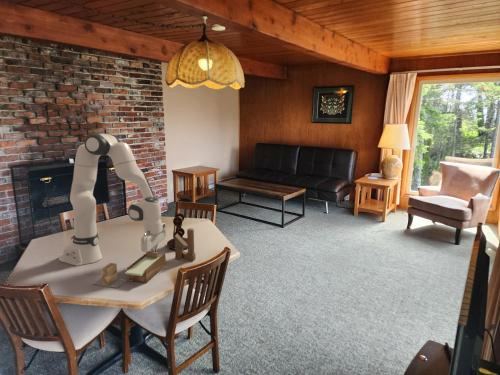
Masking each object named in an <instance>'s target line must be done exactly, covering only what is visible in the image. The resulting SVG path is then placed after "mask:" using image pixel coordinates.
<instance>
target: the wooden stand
mask: <svg viewBox="0 0 500 375" xmlns="http://www.w3.org/2000/svg"><path fill="white" fill-rule="evenodd" d="M186 232H187V233H186V236H187V237H186V238H187V242H188V244H187V243H186V242H185V241H184V240H183V239H182V238H181V237H180V236H179V235H178V234H176V235H175V249H174V251H175V252H174V253H175V254H174V255H175V256H174V258H175V260H177V261H178V260H180V261H181V260H183V261H188V262H189V261H191V262H194V261H195V260H196V252H195V229H194V228H188V229H187V231H186ZM185 248H186V249H185ZM184 249H185V250H187V251H184Z"/></svg>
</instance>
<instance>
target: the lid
mask: <svg viewBox="0 0 500 375" xmlns="http://www.w3.org/2000/svg"><path fill="white" fill-rule="evenodd" d="M145 254H146V256H145V257H144V258H143V259H141V260H140V261H139V262H138V263H136V264H135V265H134V266H133V267H131V268H130V269H129V270H128V269H127V270H126V271H125V272H124V274H125V275H128V274H129V275H136V276H142V275H143V274H144V273H145V269H147V268H148V267H149V266H150V265H151V264H152V263H154V262H155V261H156V260H157V259H158V258H159V257H158V256H159V252H158V251H157V252H152V251H151V250H150V251H148V252H145Z"/></svg>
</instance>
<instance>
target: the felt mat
mask: <svg viewBox="0 0 500 375" xmlns="http://www.w3.org/2000/svg"><path fill="white" fill-rule="evenodd" d="M126 282H127V280H126V279H121V278H118V279H117V280H115V281H114V282H113V283H112V284H110V285H109V286H108V285H102V277H100V278H99V279H97V280H96V281H95V282H93V285H94V286H100V287H108V288H112V289H119V288H120V287H121V286H122V285H124V284H125V283H126Z"/></svg>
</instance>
